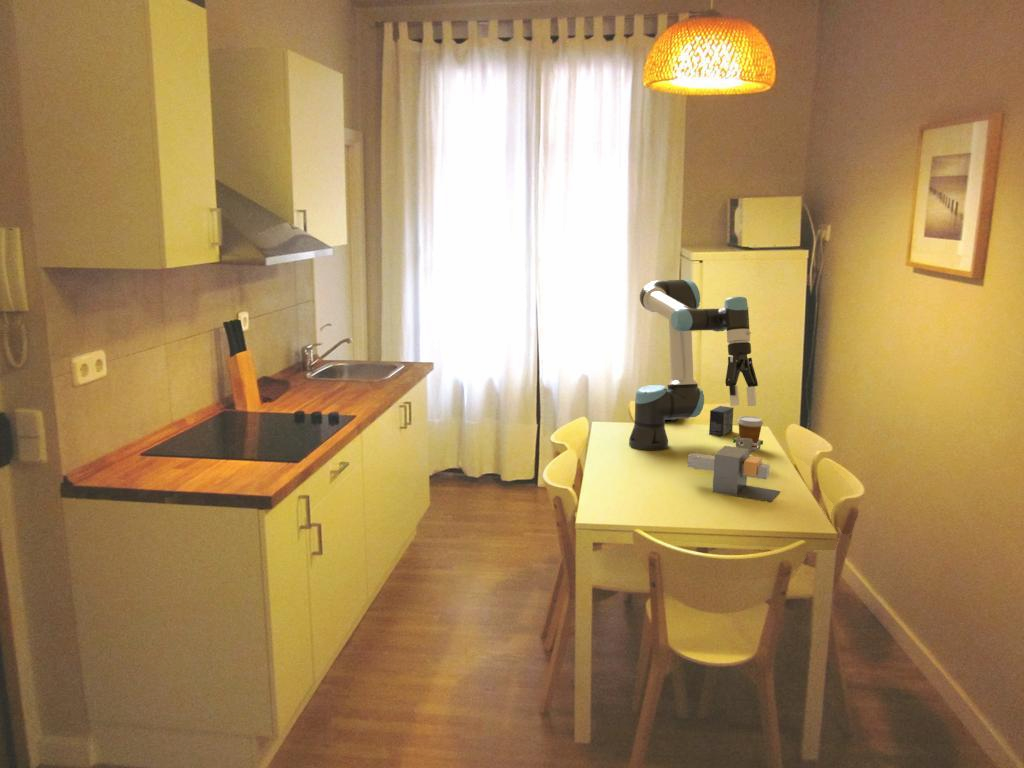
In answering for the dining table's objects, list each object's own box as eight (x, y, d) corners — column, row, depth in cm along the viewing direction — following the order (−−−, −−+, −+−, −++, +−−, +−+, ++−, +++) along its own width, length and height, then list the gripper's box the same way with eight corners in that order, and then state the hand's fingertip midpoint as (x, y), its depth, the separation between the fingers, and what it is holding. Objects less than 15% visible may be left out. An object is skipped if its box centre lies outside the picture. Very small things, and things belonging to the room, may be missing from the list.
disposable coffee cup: (734, 450, 327) (736, 420, 324) (737, 444, 336) (739, 414, 333) (759, 453, 323) (761, 422, 321) (762, 447, 332) (764, 417, 330)
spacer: (743, 474, 274) (744, 461, 273) (748, 468, 280) (749, 455, 279) (755, 476, 272) (756, 463, 271) (760, 470, 278) (761, 457, 277)
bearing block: (712, 492, 278) (714, 454, 275) (722, 482, 288) (724, 445, 285) (736, 496, 274) (739, 457, 271) (746, 486, 284) (748, 449, 281)
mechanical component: (761, 467, 305) (763, 440, 303) (731, 465, 307) (733, 439, 305) (760, 465, 308) (762, 438, 306) (731, 463, 310) (733, 437, 308)
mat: (733, 496, 274) (733, 494, 274) (743, 485, 285) (743, 484, 284) (771, 502, 269) (771, 501, 268) (779, 492, 279) (779, 490, 279)
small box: (718, 429, 359) (719, 405, 357) (732, 431, 355) (734, 407, 353) (708, 434, 350) (709, 409, 348) (723, 437, 346) (724, 412, 344)
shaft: (687, 466, 285) (688, 455, 284) (691, 464, 288) (691, 452, 287) (766, 479, 272) (767, 467, 271) (769, 476, 276) (769, 464, 275)
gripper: (733, 339, 274) (738, 404, 272) (764, 343, 293) (769, 405, 292) (712, 341, 279) (716, 406, 277) (744, 346, 298) (748, 406, 296)
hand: (743, 405), depth 284 cm, fingers open, 13 cm apart
